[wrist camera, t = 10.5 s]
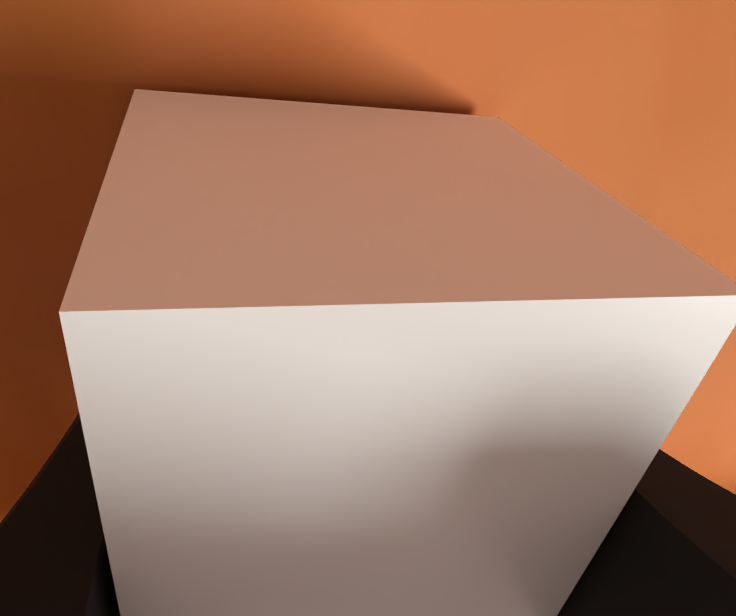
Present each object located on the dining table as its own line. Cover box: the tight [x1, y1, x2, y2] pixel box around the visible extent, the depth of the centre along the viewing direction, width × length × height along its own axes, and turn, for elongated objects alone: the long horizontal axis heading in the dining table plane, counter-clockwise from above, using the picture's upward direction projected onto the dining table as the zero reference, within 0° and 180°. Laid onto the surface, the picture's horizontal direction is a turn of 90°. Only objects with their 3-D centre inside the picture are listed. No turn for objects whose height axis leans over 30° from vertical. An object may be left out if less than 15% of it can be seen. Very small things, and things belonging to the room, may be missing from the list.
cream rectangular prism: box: [59, 89, 736, 616], centre depth 9 cm, size 6×10×5 cm, turn 171°
